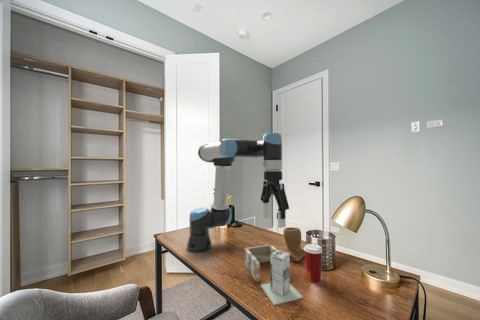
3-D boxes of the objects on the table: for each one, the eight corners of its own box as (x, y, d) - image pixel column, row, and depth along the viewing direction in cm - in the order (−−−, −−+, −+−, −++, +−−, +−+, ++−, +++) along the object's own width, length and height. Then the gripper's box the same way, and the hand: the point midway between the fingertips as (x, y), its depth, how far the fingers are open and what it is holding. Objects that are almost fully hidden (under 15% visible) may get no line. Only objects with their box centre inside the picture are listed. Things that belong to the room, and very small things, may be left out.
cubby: (244, 264, 100) (244, 248, 101) (270, 259, 105) (270, 244, 105) (256, 282, 85) (256, 263, 85) (287, 275, 89) (286, 257, 89)
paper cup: (325, 278, 87) (324, 246, 87) (319, 286, 81) (318, 252, 81) (308, 272, 92) (307, 242, 92) (301, 279, 86) (300, 247, 86)
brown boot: (289, 248, 118) (288, 223, 119) (309, 253, 111) (308, 227, 111) (277, 258, 106) (276, 230, 107) (298, 264, 99) (297, 234, 99)
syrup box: (277, 284, 82) (276, 249, 83) (290, 289, 78) (289, 253, 79) (270, 290, 78) (269, 253, 78) (283, 297, 74) (282, 258, 74)
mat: (260, 286, 82) (260, 284, 82) (285, 280, 86) (285, 279, 86) (274, 305, 70) (273, 304, 70) (302, 298, 74) (302, 296, 74)
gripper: (253, 169, 92) (253, 215, 92) (279, 172, 69) (280, 233, 68) (267, 169, 95) (268, 213, 94) (298, 171, 71) (299, 230, 70)
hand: (273, 222), depth 81 cm, fingers open, 13 cm apart
